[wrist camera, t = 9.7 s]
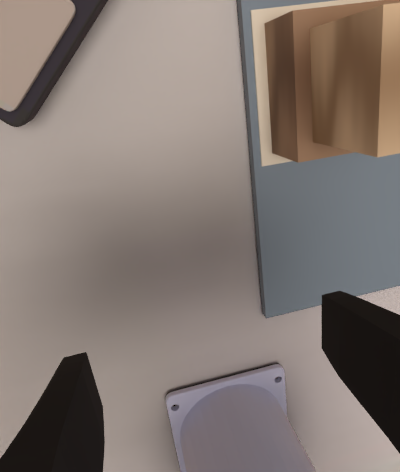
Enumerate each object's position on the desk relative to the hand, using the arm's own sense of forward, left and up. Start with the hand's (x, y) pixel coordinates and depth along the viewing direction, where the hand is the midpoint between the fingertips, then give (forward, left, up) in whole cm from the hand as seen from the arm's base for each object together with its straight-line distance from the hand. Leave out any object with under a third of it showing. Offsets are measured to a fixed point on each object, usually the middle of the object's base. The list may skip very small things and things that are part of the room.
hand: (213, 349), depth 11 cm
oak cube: (+7, -9, -7) cm, 13 cm away
